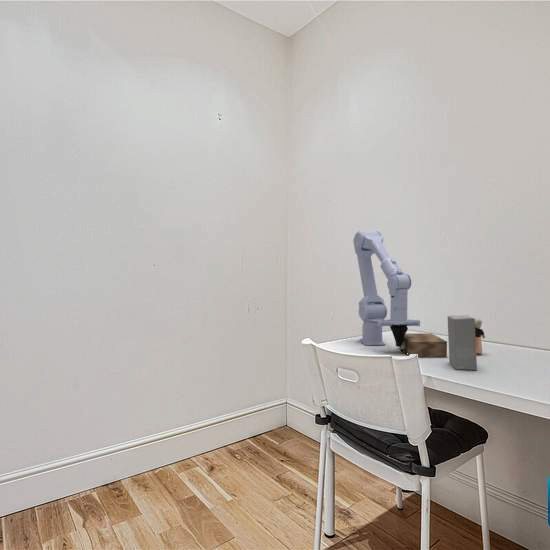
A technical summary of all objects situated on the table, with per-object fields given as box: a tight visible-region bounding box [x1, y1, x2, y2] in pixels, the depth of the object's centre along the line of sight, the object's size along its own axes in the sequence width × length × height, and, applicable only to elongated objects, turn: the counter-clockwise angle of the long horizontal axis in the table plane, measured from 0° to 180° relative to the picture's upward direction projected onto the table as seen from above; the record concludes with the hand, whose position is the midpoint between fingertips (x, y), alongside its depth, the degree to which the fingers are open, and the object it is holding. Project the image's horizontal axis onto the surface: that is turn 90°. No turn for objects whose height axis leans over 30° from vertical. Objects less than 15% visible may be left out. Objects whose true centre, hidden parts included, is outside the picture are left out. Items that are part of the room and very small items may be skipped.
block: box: [399, 332, 448, 359], centre depth 146 cm, size 13×14×5 cm
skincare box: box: [447, 314, 478, 371], centre depth 128 cm, size 8×7×16 cm
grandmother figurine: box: [475, 317, 486, 356], centre depth 143 cm, size 8×4×13 cm, turn 122°
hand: (398, 346), depth 146 cm, fingers closed
